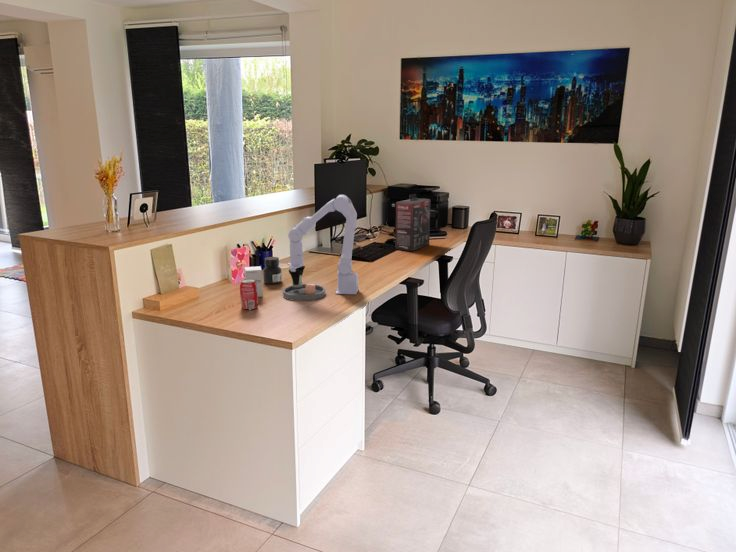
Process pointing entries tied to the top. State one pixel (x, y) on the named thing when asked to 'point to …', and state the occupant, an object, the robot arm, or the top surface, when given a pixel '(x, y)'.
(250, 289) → the soda can
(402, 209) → the headset box
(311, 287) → the terracotta bead
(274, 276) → the ink bottle
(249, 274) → the supplement box
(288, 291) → the groove tray
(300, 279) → the sage bead
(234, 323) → the top surface
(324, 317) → the top surface
